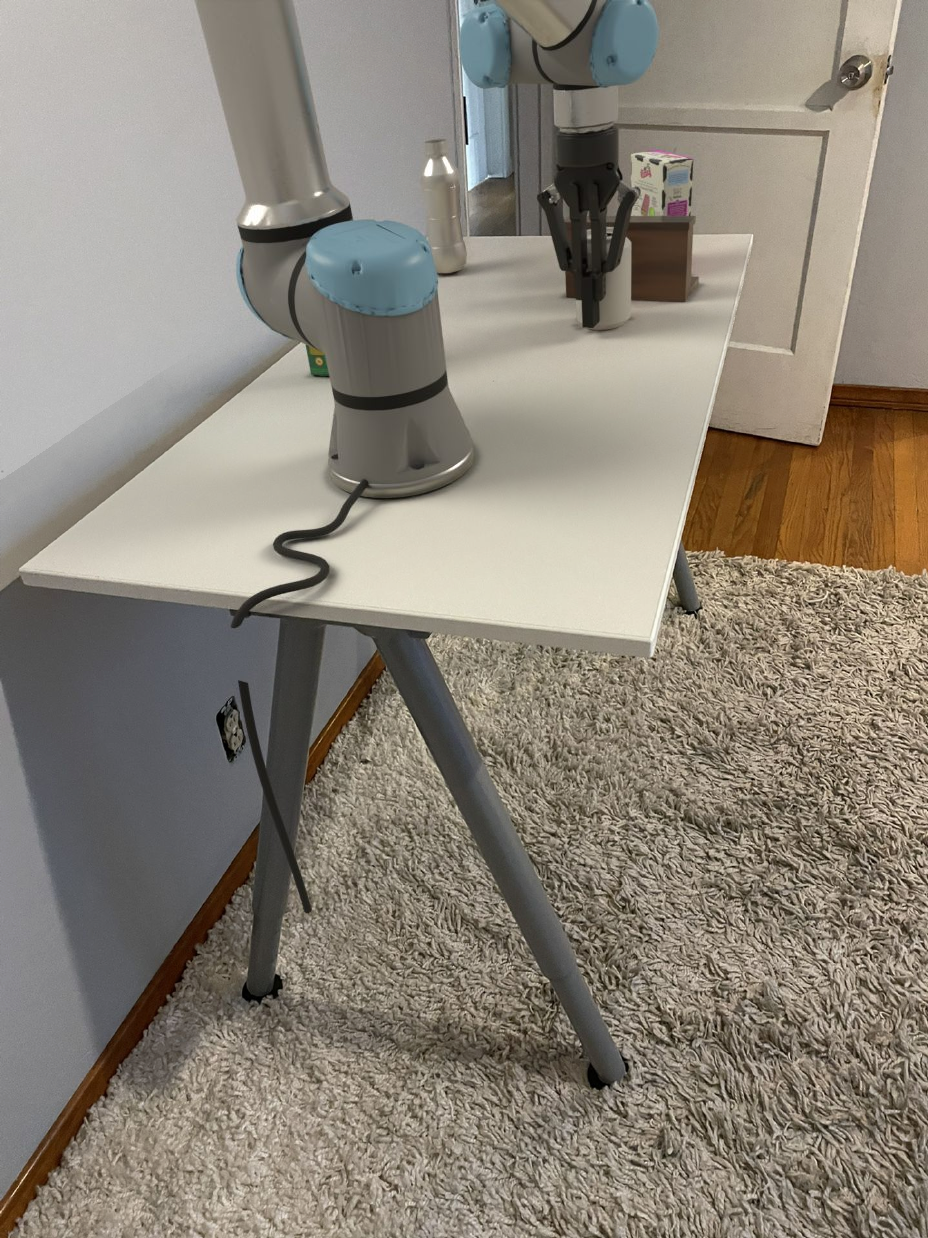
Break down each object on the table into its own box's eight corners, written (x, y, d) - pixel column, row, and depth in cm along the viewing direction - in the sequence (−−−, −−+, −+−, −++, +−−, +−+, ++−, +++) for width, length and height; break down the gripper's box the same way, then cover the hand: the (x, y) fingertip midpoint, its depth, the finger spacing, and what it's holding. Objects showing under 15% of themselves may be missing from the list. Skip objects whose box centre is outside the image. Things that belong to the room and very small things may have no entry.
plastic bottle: (423, 272, 157) (407, 142, 145) (459, 263, 159) (446, 135, 147) (438, 280, 152) (423, 146, 140) (475, 271, 154) (463, 139, 142)
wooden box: (686, 302, 130) (689, 222, 124) (564, 298, 137) (561, 221, 131) (700, 284, 136) (703, 207, 130) (582, 281, 143) (580, 207, 137)
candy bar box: (690, 275, 140) (695, 157, 131) (660, 281, 139) (663, 162, 130) (656, 258, 149) (658, 147, 139) (628, 264, 148) (628, 152, 139)
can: (634, 313, 128) (635, 222, 122) (627, 331, 123) (627, 238, 116) (581, 313, 131) (579, 225, 124) (571, 332, 125) (568, 239, 118)
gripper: (649, 118, 108) (646, 317, 122) (546, 123, 114) (555, 313, 127) (630, 130, 103) (630, 336, 117) (523, 134, 108) (535, 331, 122)
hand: (591, 324), depth 122 cm, fingers closed
